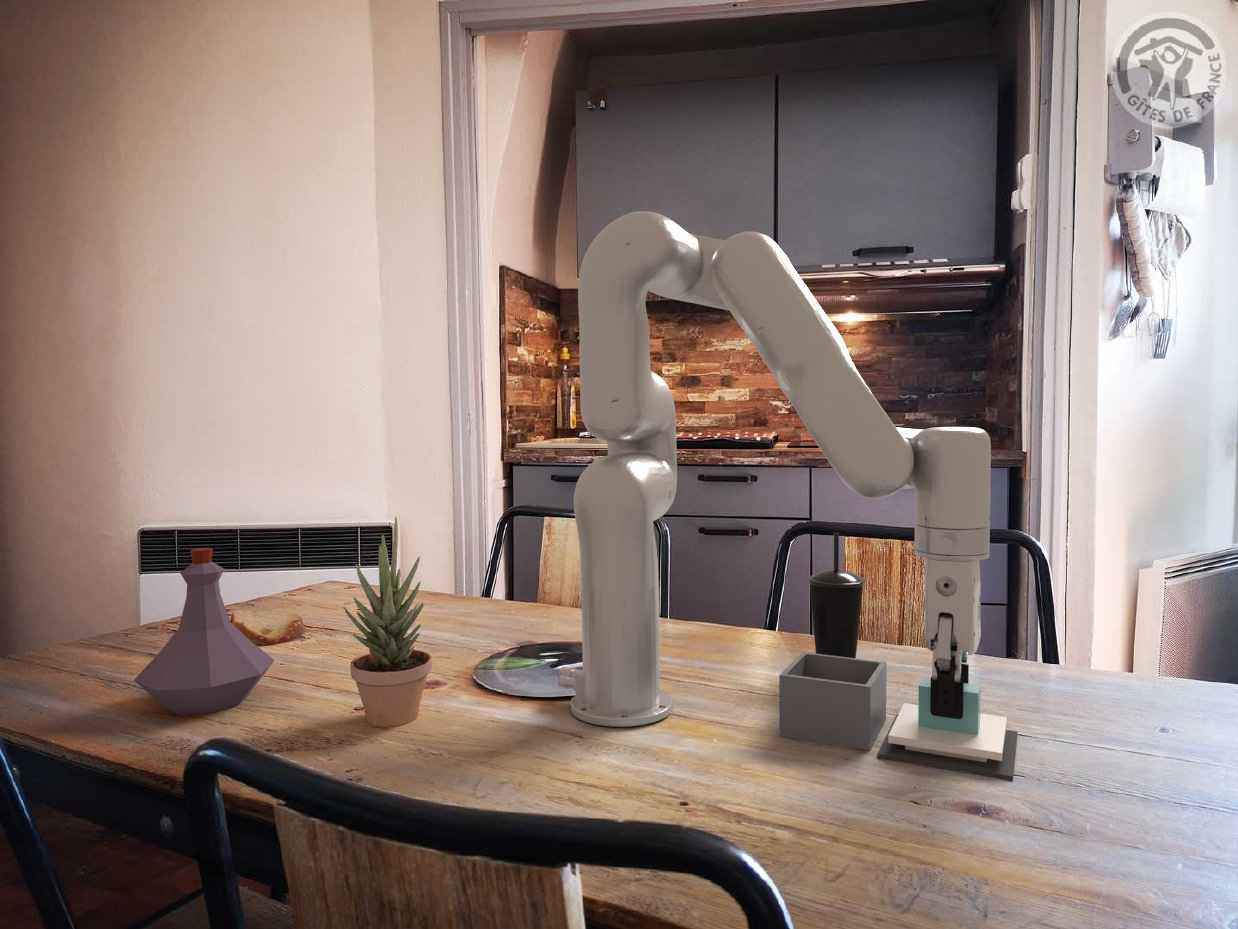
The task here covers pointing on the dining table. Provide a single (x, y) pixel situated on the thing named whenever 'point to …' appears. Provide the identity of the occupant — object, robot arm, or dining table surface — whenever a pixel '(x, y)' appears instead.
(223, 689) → the flask
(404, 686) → the potted plant
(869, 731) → the storage box
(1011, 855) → the dining table surface
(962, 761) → the mat
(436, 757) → the dining table surface
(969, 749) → the lid
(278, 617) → the slice of bread
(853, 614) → the drinking cup
